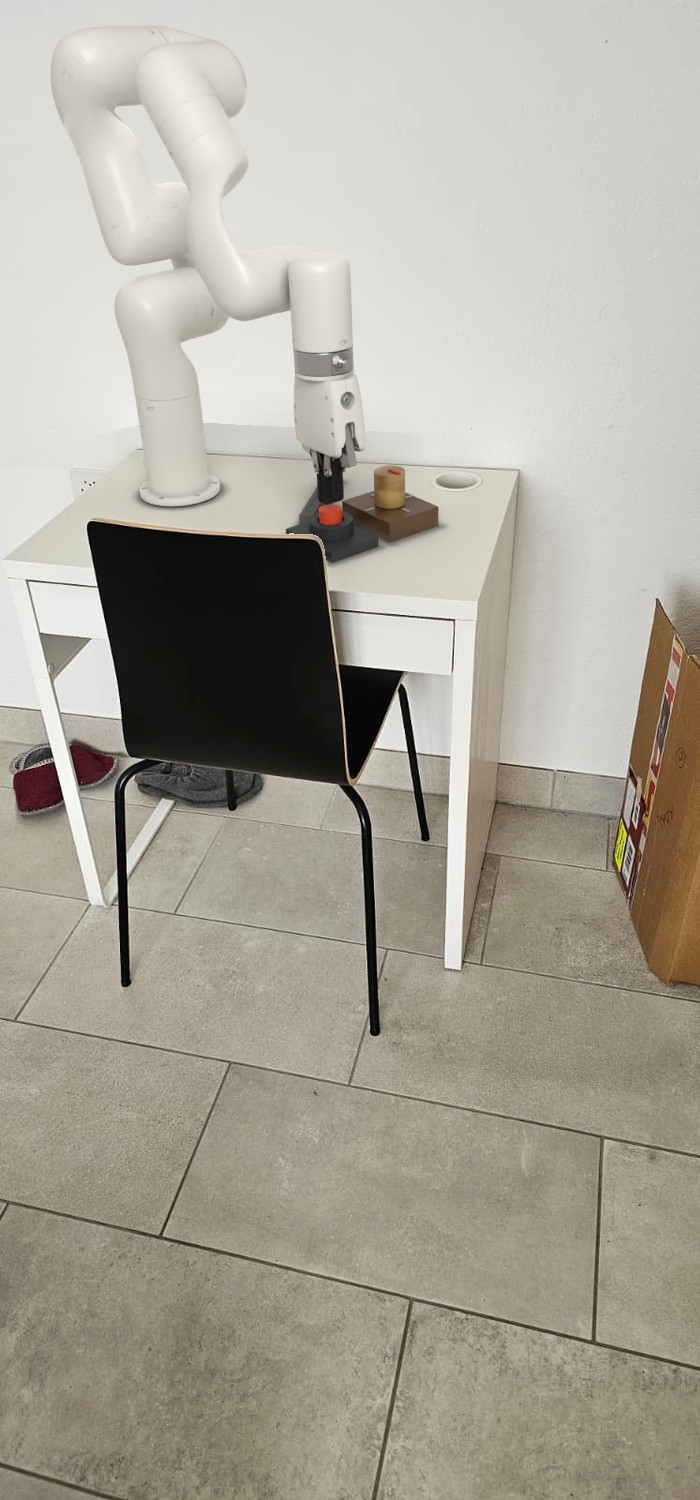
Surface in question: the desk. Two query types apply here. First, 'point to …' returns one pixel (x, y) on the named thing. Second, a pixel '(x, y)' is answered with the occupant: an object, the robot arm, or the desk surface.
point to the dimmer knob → (389, 487)
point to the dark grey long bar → (310, 507)
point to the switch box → (338, 537)
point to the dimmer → (391, 516)
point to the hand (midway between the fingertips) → (331, 500)
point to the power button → (330, 514)
